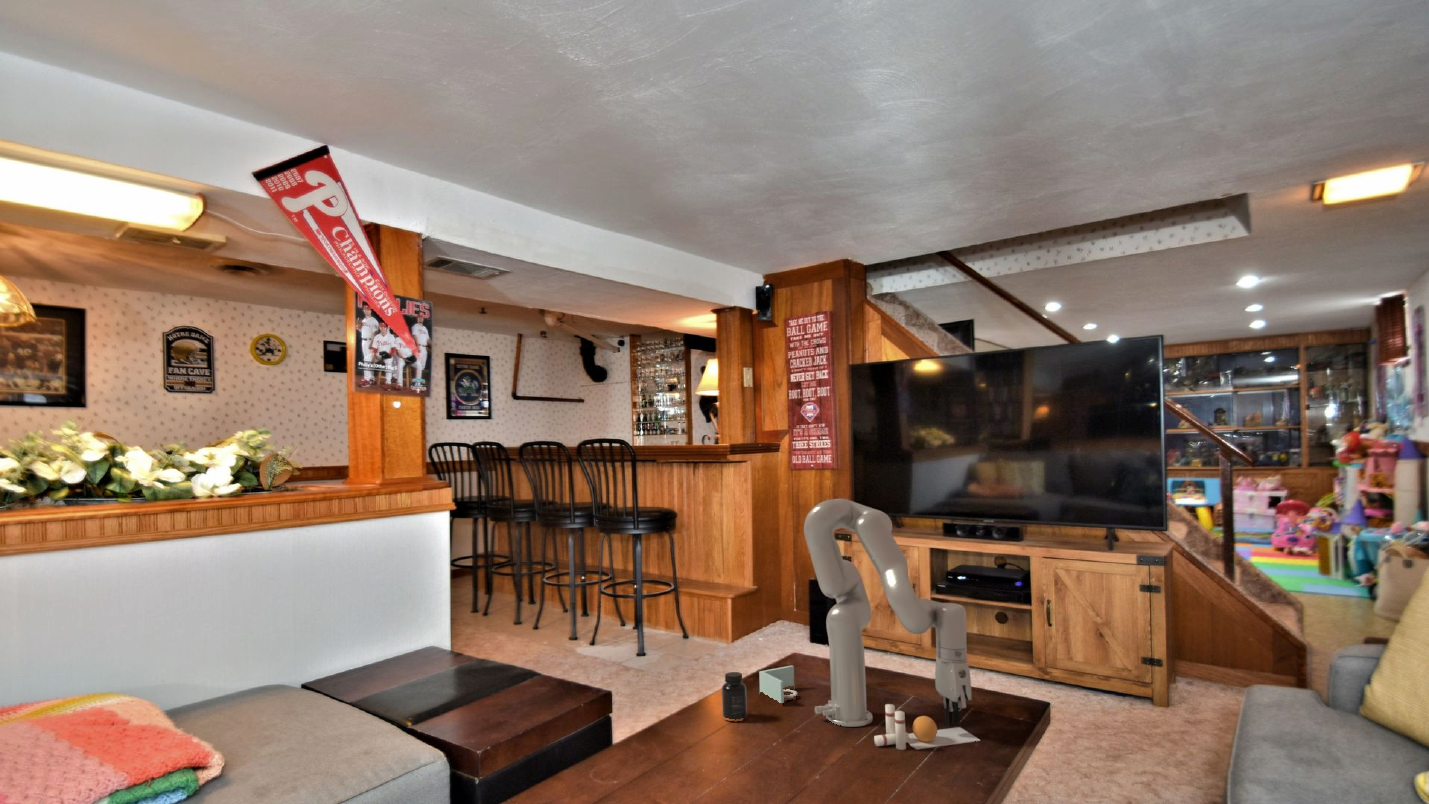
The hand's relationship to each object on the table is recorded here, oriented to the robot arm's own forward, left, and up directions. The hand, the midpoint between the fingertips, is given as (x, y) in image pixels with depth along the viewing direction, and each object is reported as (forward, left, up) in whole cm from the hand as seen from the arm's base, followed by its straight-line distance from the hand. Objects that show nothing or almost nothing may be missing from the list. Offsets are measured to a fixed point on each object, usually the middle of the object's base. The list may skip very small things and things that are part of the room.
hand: (952, 725), depth 183 cm
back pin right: (-16, -3, -3) cm, 17 cm away
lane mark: (-4, -1, -3) cm, 5 cm away
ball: (-9, -1, 0) cm, 9 cm away
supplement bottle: (-50, +28, -3) cm, 58 cm away
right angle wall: (-31, +41, -3) cm, 51 cm away
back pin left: (-16, +2, -3) cm, 17 cm away
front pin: (-13, 0, -1) cm, 13 cm away
